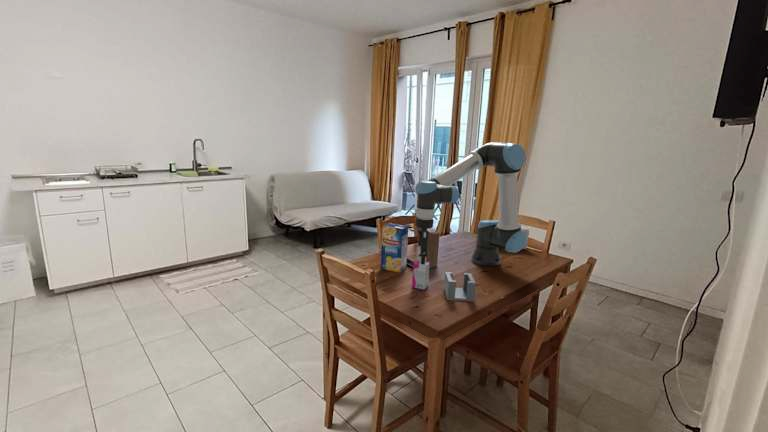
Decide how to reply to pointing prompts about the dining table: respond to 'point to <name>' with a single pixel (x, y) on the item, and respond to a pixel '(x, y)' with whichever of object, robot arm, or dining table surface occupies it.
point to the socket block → (460, 293)
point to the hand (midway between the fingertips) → (420, 265)
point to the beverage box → (394, 247)
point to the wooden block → (432, 248)
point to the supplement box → (420, 276)
